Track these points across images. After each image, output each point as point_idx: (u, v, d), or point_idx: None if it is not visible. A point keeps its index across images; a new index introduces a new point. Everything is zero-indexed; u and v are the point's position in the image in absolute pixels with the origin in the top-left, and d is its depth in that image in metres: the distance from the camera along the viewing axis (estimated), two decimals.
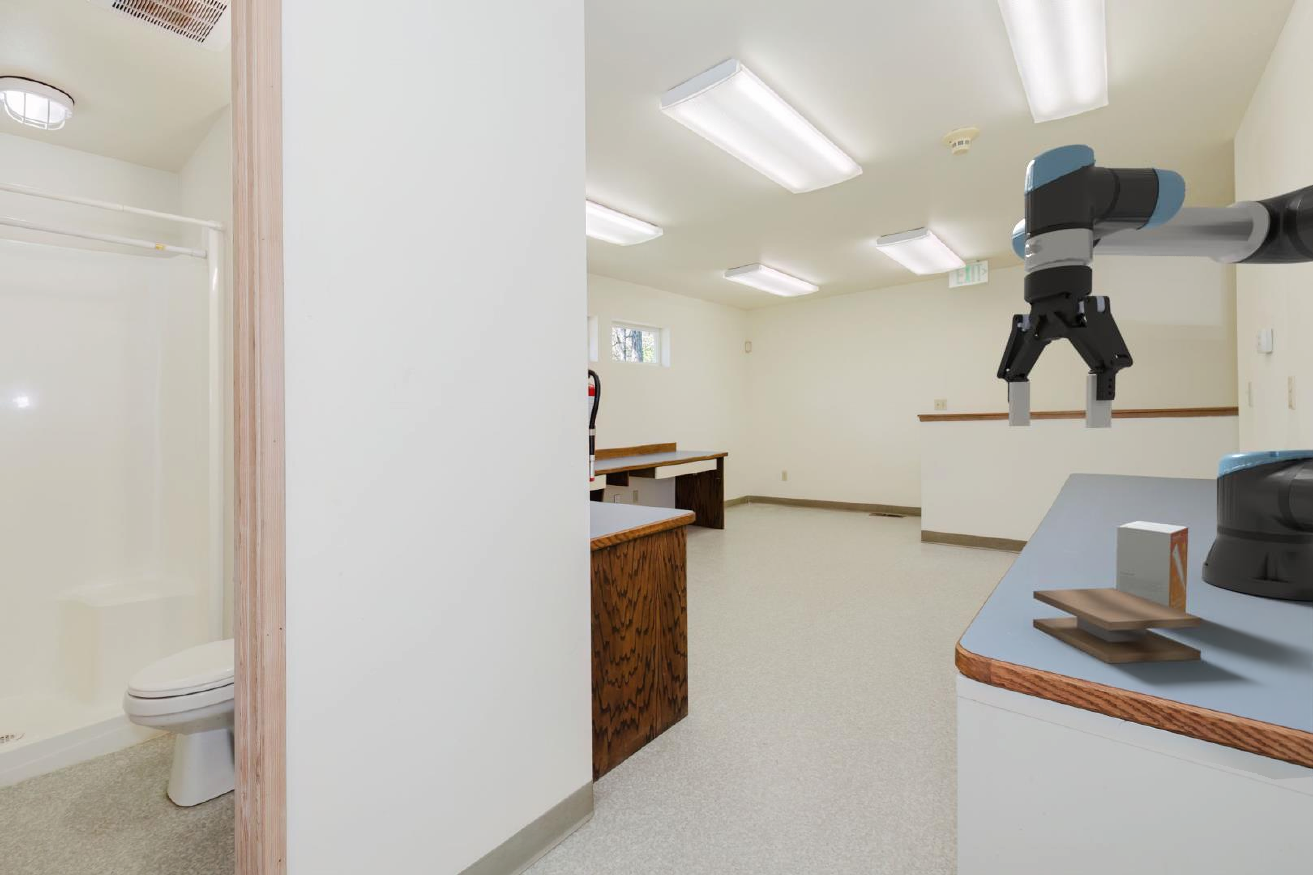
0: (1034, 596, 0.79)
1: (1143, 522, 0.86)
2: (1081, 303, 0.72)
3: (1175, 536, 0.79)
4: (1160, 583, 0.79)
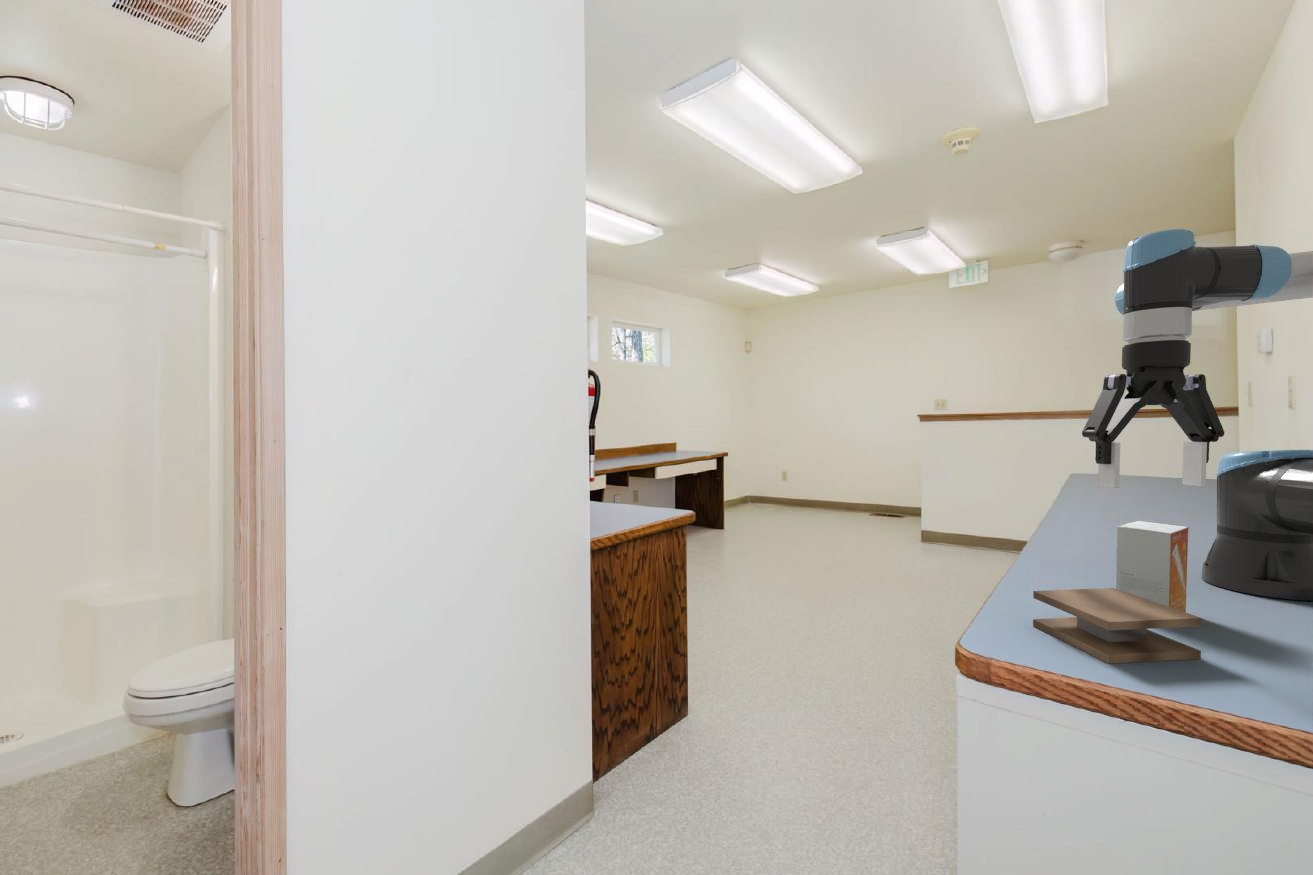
0: (1034, 596, 0.79)
1: (1143, 522, 0.86)
2: None
3: (1175, 536, 0.79)
4: (1160, 583, 0.79)
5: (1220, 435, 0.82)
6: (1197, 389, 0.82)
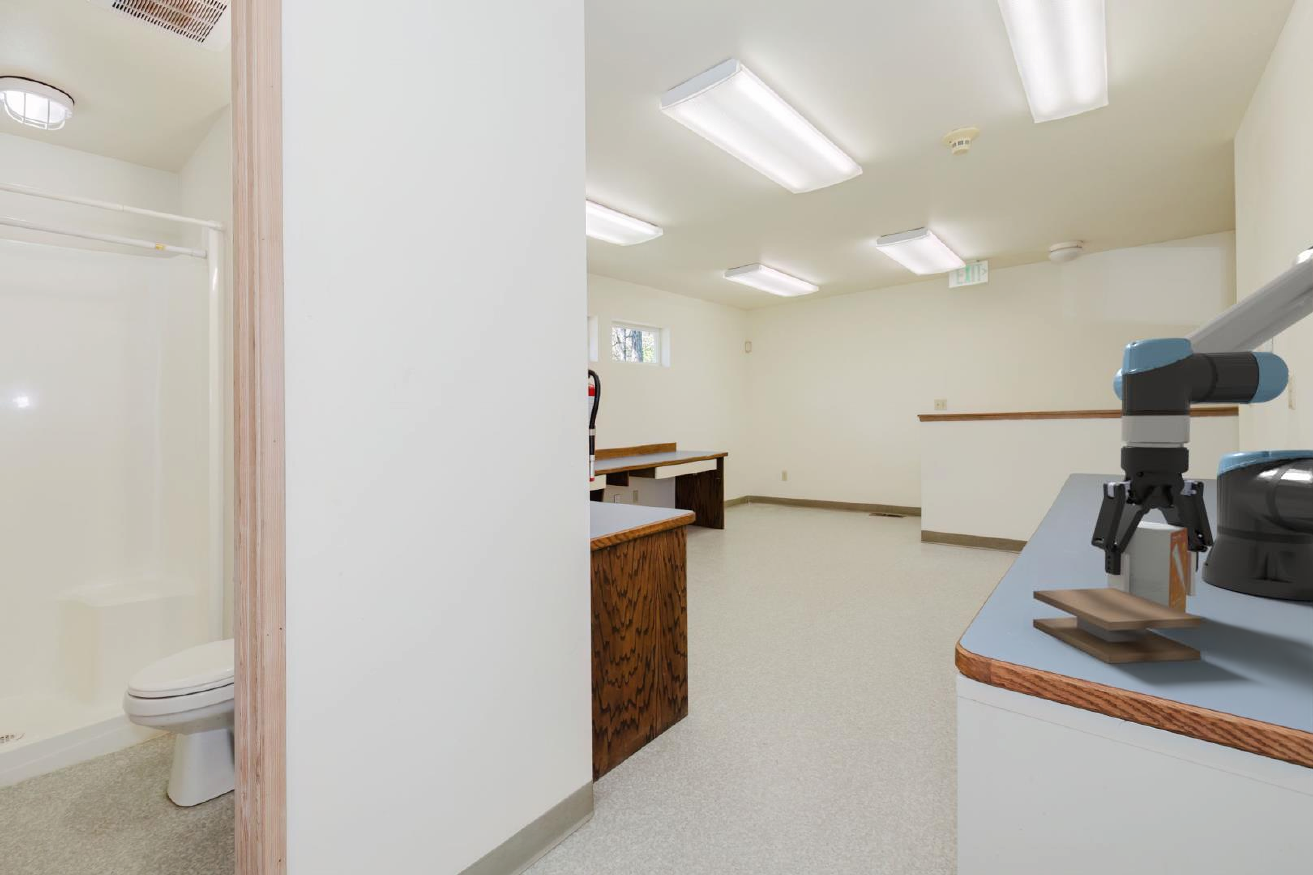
0: (1034, 596, 0.79)
1: (1143, 522, 0.86)
2: (1122, 483, 0.83)
3: (1175, 536, 0.79)
4: (1160, 583, 0.79)
5: (1209, 544, 0.83)
6: (1194, 495, 0.82)
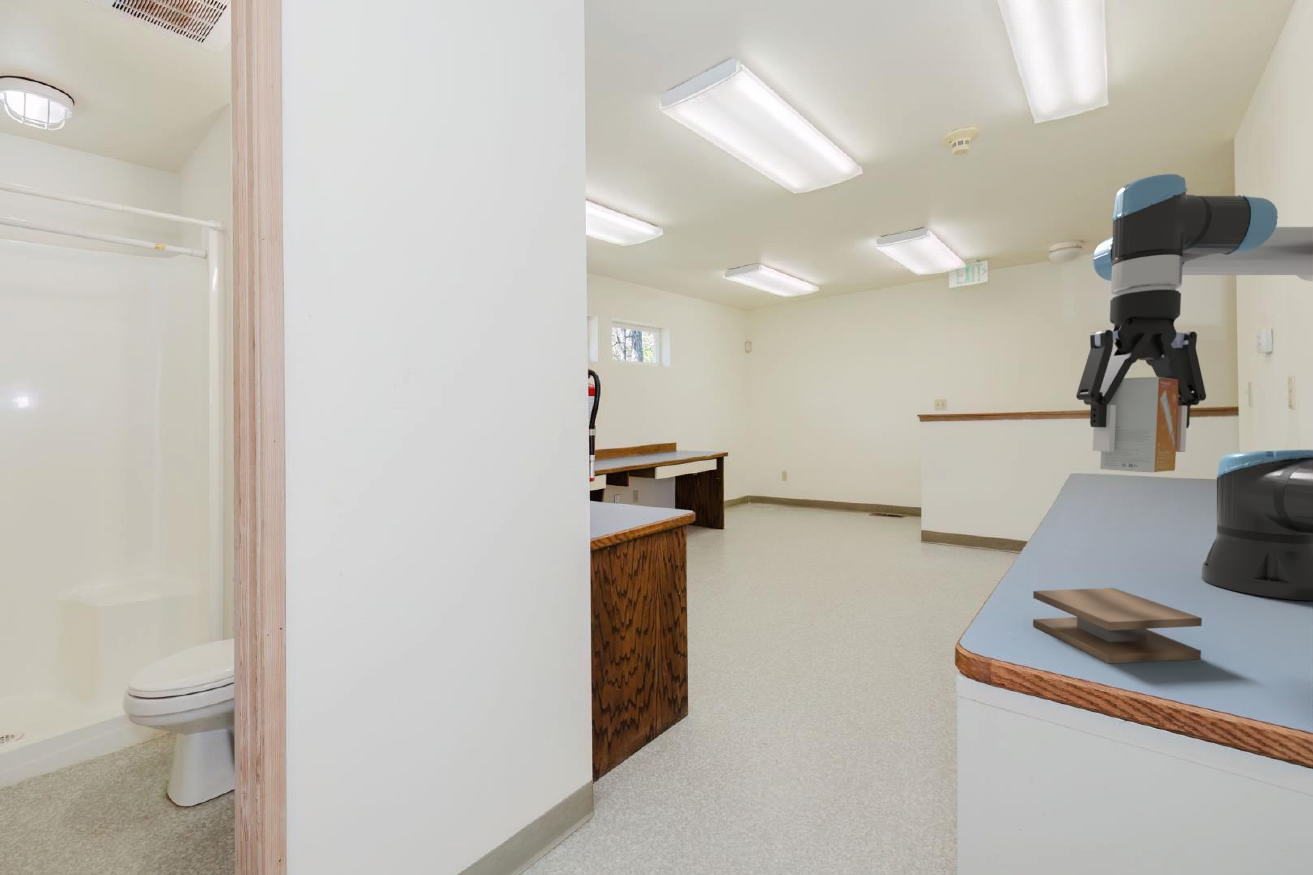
0: (1034, 596, 0.79)
1: None
2: None
3: (1164, 382, 0.76)
4: (1147, 431, 0.76)
5: (1201, 398, 0.79)
6: (1186, 346, 0.79)
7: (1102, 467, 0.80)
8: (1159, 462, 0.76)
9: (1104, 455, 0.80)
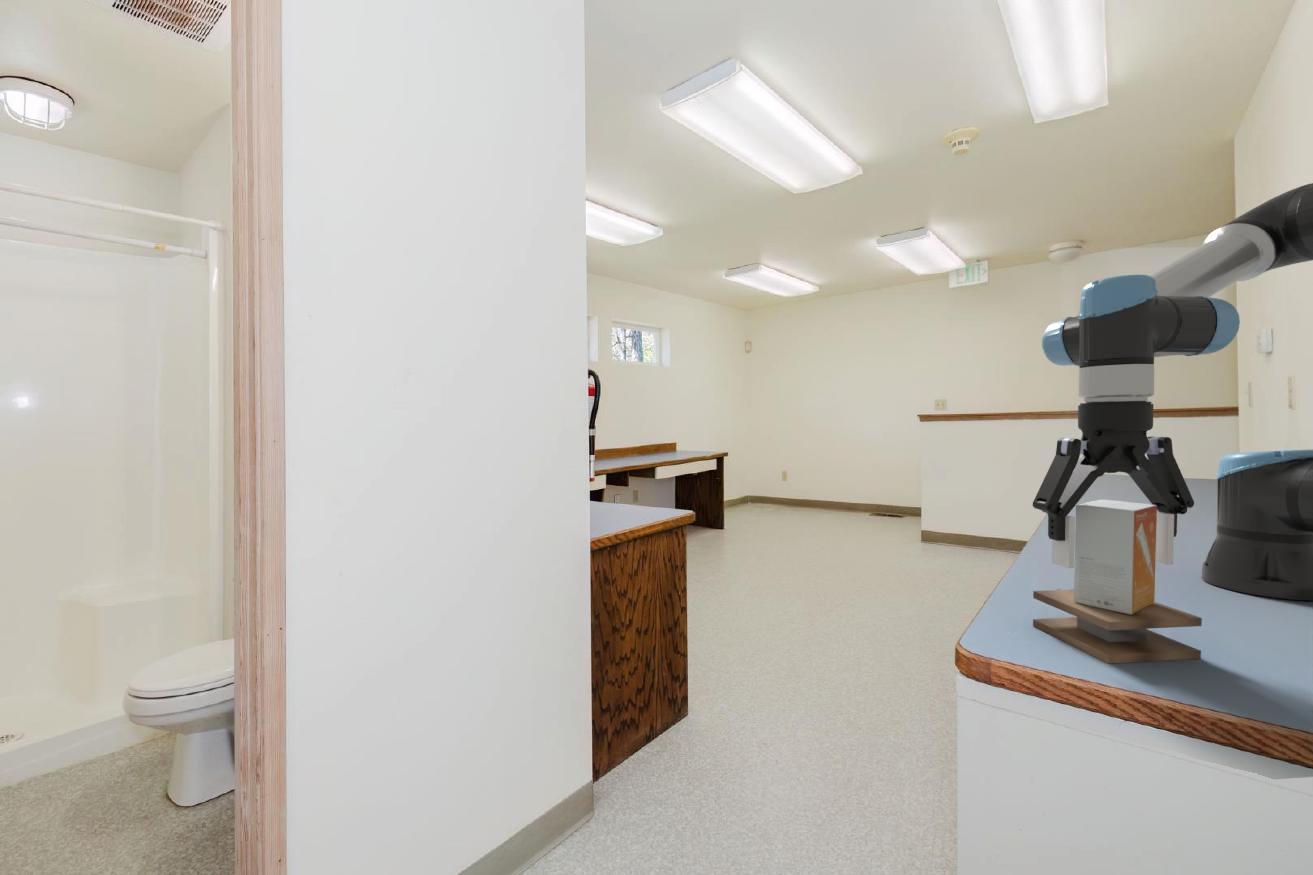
0: (1034, 596, 0.79)
1: (1107, 500, 0.76)
2: None
3: (1140, 514, 0.69)
4: (1122, 568, 0.69)
5: (1189, 506, 0.72)
6: (1163, 454, 0.72)
7: (1076, 600, 0.73)
8: (1137, 602, 0.69)
9: (1078, 587, 0.73)
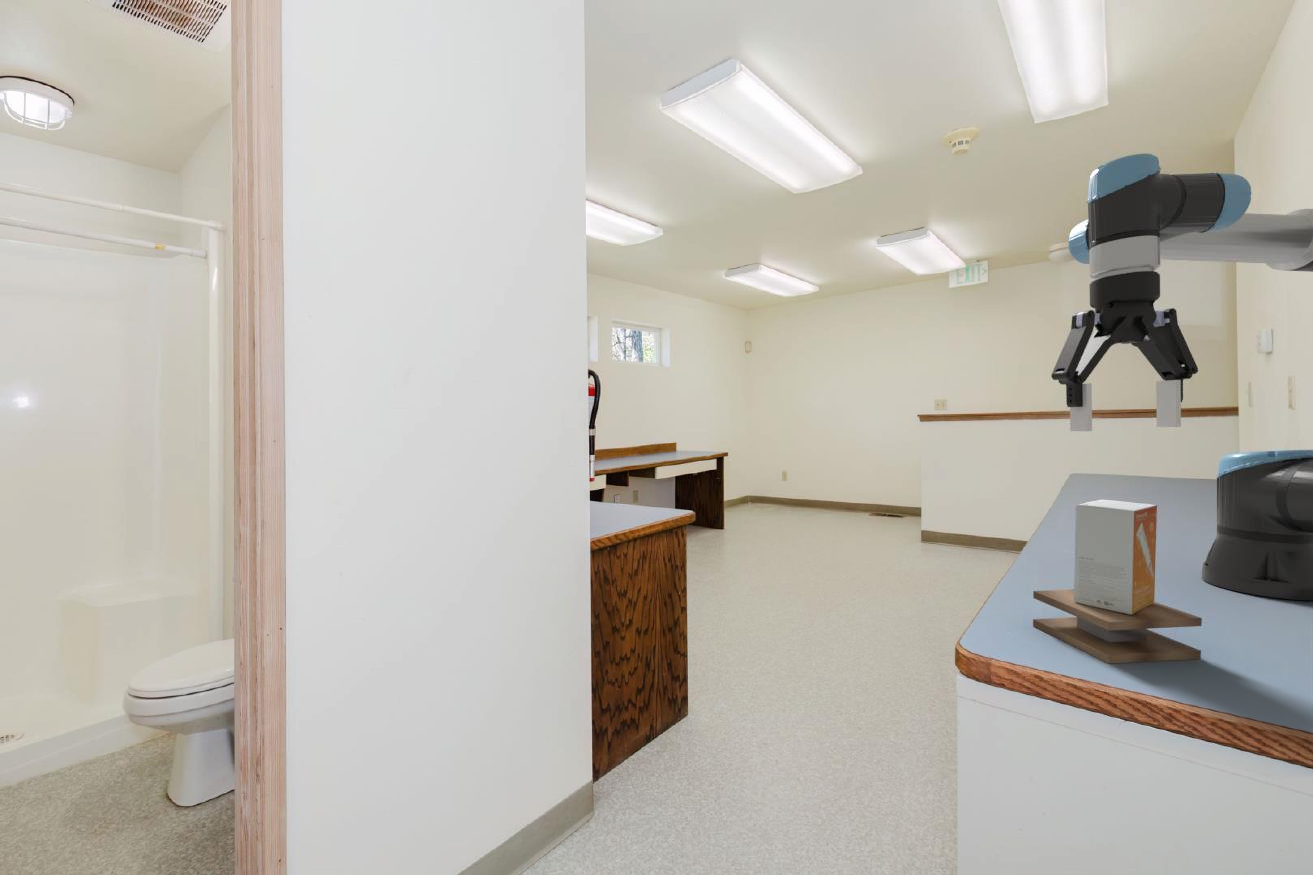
0: (1034, 596, 0.79)
1: (1107, 500, 0.76)
2: None
3: (1140, 514, 0.69)
4: (1122, 568, 0.69)
5: (1194, 372, 0.78)
6: (1169, 324, 0.78)
7: (1076, 600, 0.73)
8: (1137, 602, 0.69)
9: (1078, 587, 0.73)
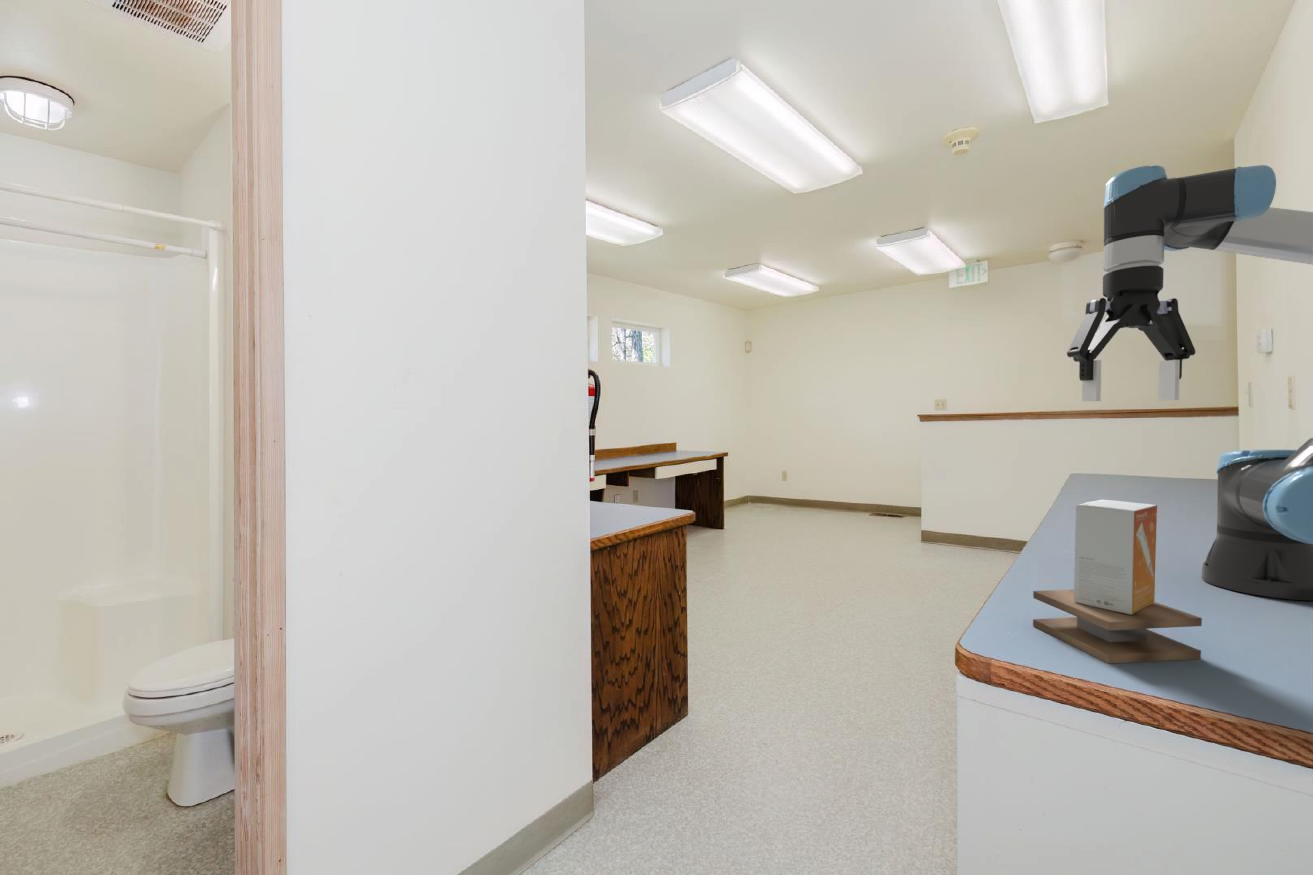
0: (1034, 596, 0.79)
1: (1107, 500, 0.76)
2: None
3: (1140, 514, 0.69)
4: (1122, 568, 0.69)
5: (1191, 353, 0.91)
6: (1171, 312, 0.91)
7: (1076, 600, 0.73)
8: (1137, 602, 0.69)
9: (1078, 587, 0.73)
